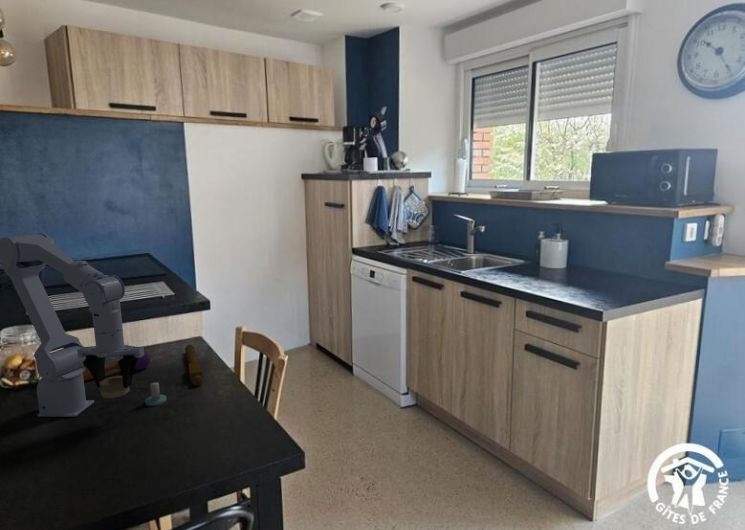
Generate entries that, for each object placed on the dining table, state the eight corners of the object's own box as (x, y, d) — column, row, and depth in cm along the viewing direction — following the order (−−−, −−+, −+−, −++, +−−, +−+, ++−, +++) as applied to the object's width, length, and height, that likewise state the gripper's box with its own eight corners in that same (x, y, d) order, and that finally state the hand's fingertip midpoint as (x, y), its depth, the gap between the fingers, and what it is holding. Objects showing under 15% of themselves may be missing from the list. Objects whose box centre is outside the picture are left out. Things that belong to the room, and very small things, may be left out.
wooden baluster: (194, 343, 161) (203, 376, 134) (195, 352, 161) (204, 386, 134) (184, 344, 159) (191, 378, 132) (185, 353, 160) (192, 388, 133)
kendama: (70, 367, 139) (145, 346, 150) (75, 387, 139) (149, 365, 151) (72, 369, 134) (149, 348, 145) (77, 390, 134) (154, 367, 146)
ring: (96, 398, 112) (95, 385, 111) (110, 387, 117) (108, 375, 117) (120, 398, 112) (119, 385, 111) (133, 387, 117) (132, 375, 117)
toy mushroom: (141, 406, 122) (139, 388, 122) (151, 397, 127) (149, 380, 127) (161, 406, 122) (159, 388, 121) (170, 397, 127) (168, 380, 126)
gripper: (66, 335, 108) (73, 393, 110) (130, 335, 108) (136, 393, 110) (85, 325, 115) (91, 380, 117) (146, 325, 114) (151, 380, 117)
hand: (114, 386), depth 114 cm, fingers closed on ring, 6 cm apart
